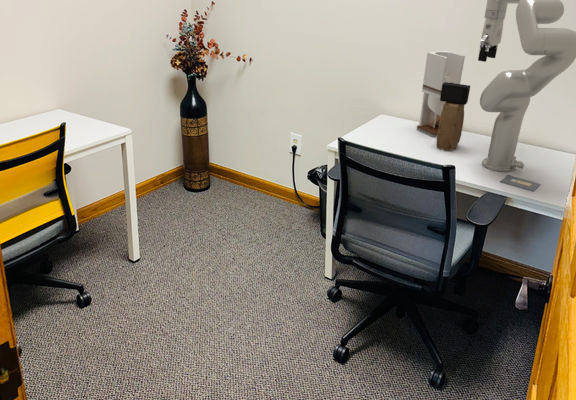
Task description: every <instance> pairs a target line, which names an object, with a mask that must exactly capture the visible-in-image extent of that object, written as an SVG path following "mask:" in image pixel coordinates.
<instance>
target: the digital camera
mask: <svg viewBox="0 0 576 400" xmlns="http://www.w3.org/2000/svg"><path fill="white" fill-rule="evenodd" d="M470 90H471V85H468V84H461V83H460V84H455V83H448V82H444V83H443V84H442V90H441V97H440V101H444V102H451V103H457V104H463V105H464V106H466V105H467V104H468V101H469V96H470Z"/></svg>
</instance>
